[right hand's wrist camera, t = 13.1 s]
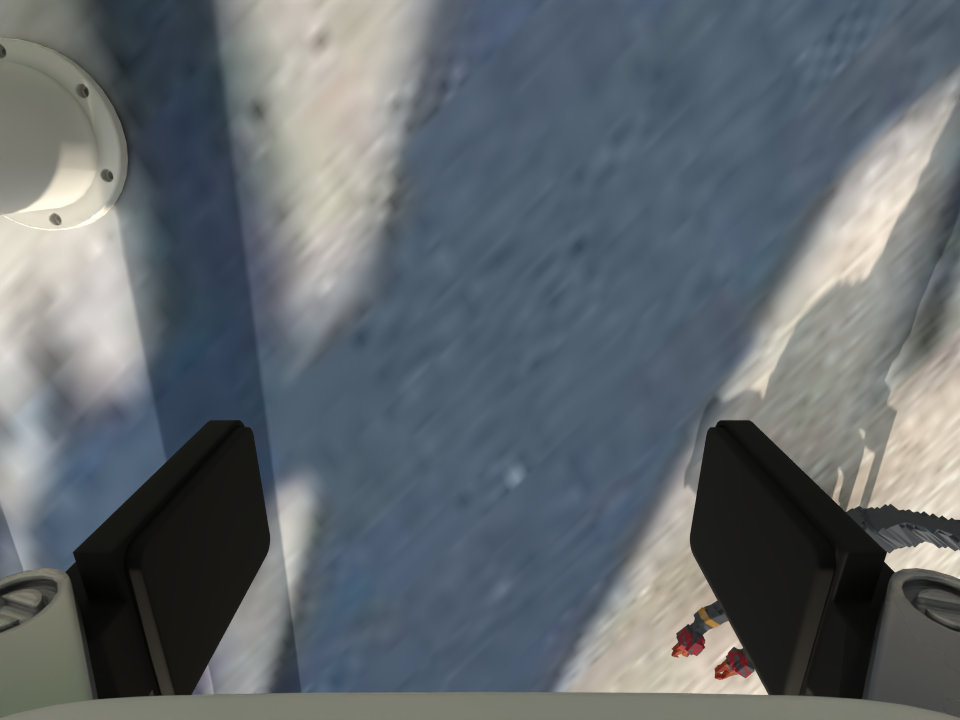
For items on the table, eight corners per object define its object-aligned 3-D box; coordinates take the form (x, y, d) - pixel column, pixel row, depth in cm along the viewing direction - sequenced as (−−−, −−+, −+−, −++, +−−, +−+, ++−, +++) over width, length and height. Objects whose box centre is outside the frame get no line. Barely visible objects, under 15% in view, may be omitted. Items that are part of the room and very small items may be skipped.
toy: (940, 494, 50) (1184, 671, 32) (729, 667, 57) (836, 886, 40) (842, 415, 47) (1052, 565, 30) (634, 609, 54) (706, 817, 37)
